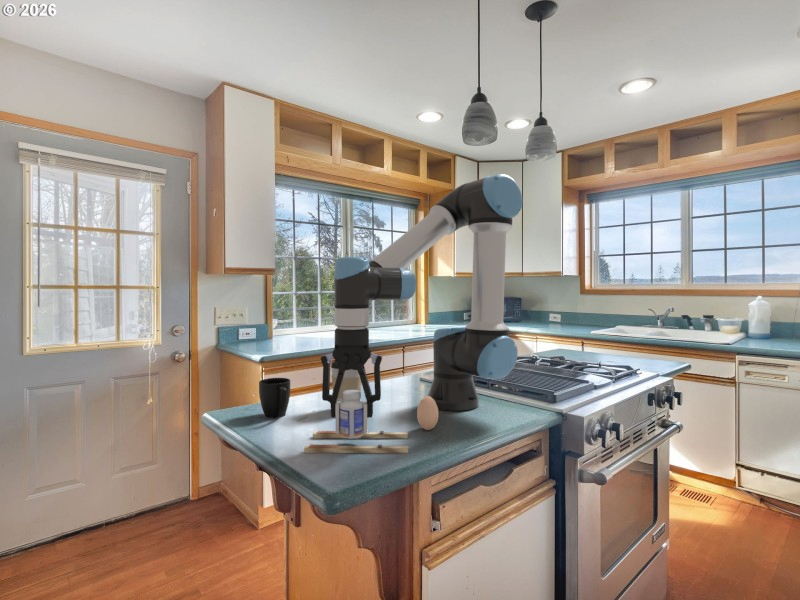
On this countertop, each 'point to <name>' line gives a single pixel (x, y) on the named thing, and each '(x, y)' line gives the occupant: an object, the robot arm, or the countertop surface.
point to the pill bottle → (351, 415)
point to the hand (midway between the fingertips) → (351, 431)
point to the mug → (274, 396)
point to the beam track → (357, 448)
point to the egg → (427, 413)
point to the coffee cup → (346, 380)
